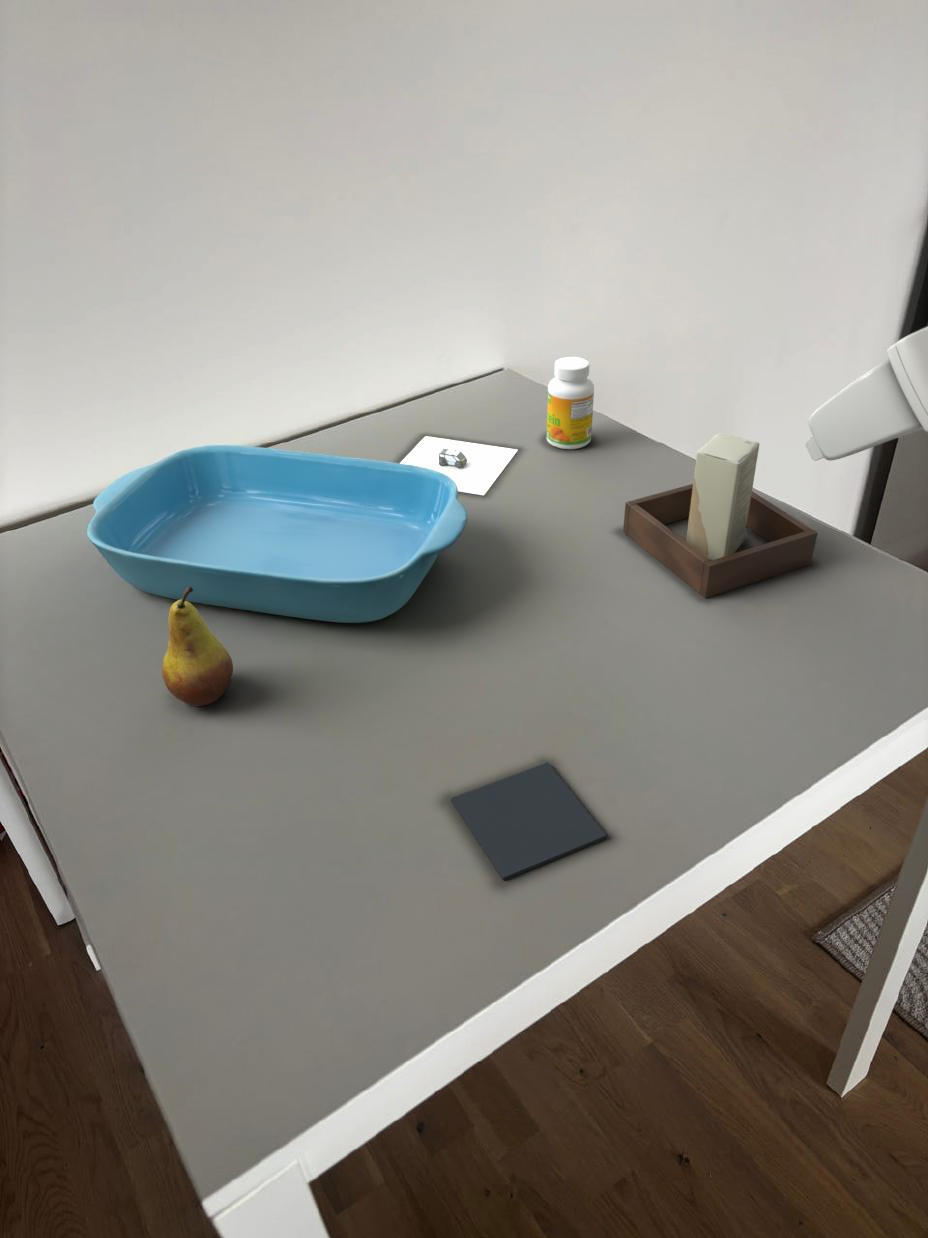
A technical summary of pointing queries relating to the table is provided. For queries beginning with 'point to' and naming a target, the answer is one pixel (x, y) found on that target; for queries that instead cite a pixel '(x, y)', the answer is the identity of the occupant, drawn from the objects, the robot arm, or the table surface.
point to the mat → (527, 820)
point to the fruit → (194, 657)
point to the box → (721, 495)
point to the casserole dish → (278, 530)
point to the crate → (713, 577)
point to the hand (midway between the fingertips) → (854, 434)
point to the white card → (461, 462)
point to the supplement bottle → (570, 404)
